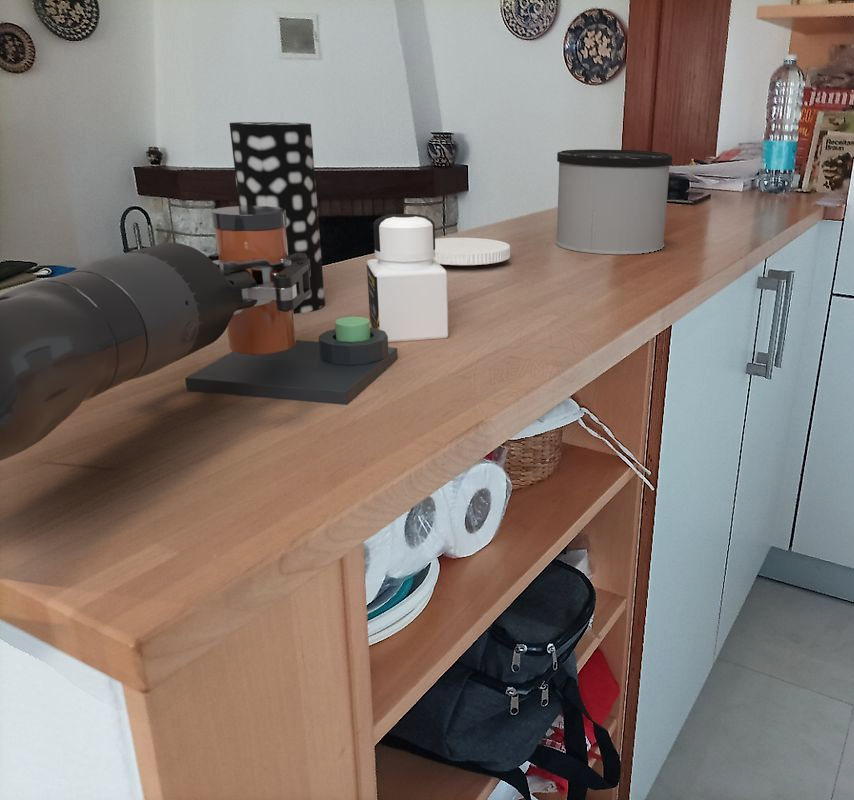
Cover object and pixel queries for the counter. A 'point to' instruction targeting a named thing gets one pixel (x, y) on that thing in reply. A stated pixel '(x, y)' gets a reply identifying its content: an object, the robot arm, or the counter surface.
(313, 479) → the counter surface
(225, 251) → the spice jar
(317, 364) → the scale
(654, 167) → the container
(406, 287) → the medicine bottle
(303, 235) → the spotted tube
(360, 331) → the button
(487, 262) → the plastic lid
